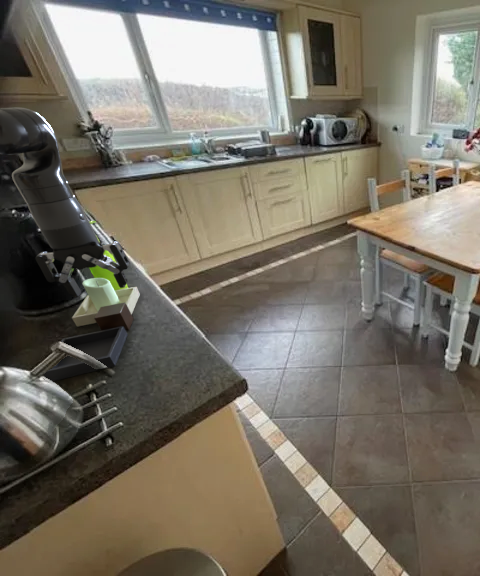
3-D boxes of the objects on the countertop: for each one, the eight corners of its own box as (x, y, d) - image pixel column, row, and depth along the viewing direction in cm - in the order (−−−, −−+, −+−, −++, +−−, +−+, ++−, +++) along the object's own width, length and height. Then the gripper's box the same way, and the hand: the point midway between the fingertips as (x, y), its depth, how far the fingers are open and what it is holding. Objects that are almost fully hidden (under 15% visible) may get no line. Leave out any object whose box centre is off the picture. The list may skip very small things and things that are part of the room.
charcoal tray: (46, 382, 64) (39, 373, 62) (68, 347, 72) (62, 338, 71) (115, 366, 67) (109, 356, 66) (127, 334, 76) (123, 325, 75)
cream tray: (76, 326, 79) (71, 318, 78) (91, 303, 88) (87, 295, 87) (131, 315, 83) (127, 307, 82) (140, 294, 92) (136, 286, 90)
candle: (124, 300, 88) (110, 273, 84) (116, 311, 84) (102, 283, 79) (102, 303, 87) (87, 276, 82) (93, 314, 82) (77, 286, 78)
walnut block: (103, 335, 76) (93, 318, 73) (109, 323, 80) (100, 306, 77) (129, 330, 78) (120, 313, 75) (133, 318, 82) (125, 302, 79)
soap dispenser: (134, 283, 97) (103, 218, 87) (122, 295, 91) (88, 227, 81) (112, 285, 96) (78, 219, 86) (98, 297, 90) (61, 229, 80)
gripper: (110, 211, 71) (141, 276, 79) (26, 221, 66) (68, 289, 74) (100, 221, 65) (134, 291, 73) (7, 233, 60) (55, 306, 68)
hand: (101, 290), depth 74 cm, fingers open, 8 cm apart
